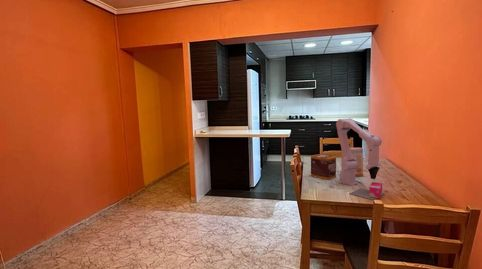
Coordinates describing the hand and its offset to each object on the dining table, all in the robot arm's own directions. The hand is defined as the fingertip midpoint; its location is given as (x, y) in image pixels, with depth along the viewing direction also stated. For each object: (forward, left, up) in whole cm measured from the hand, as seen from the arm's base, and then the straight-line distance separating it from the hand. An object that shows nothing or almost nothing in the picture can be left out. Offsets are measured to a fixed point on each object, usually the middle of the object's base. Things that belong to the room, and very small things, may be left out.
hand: (373, 178), depth 153 cm
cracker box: (-27, +24, -8) cm, 37 cm away
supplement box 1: (-40, +7, -8) cm, 41 cm away
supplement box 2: (+2, 0, -5) cm, 5 cm away
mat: (0, -8, -8) cm, 11 cm away
